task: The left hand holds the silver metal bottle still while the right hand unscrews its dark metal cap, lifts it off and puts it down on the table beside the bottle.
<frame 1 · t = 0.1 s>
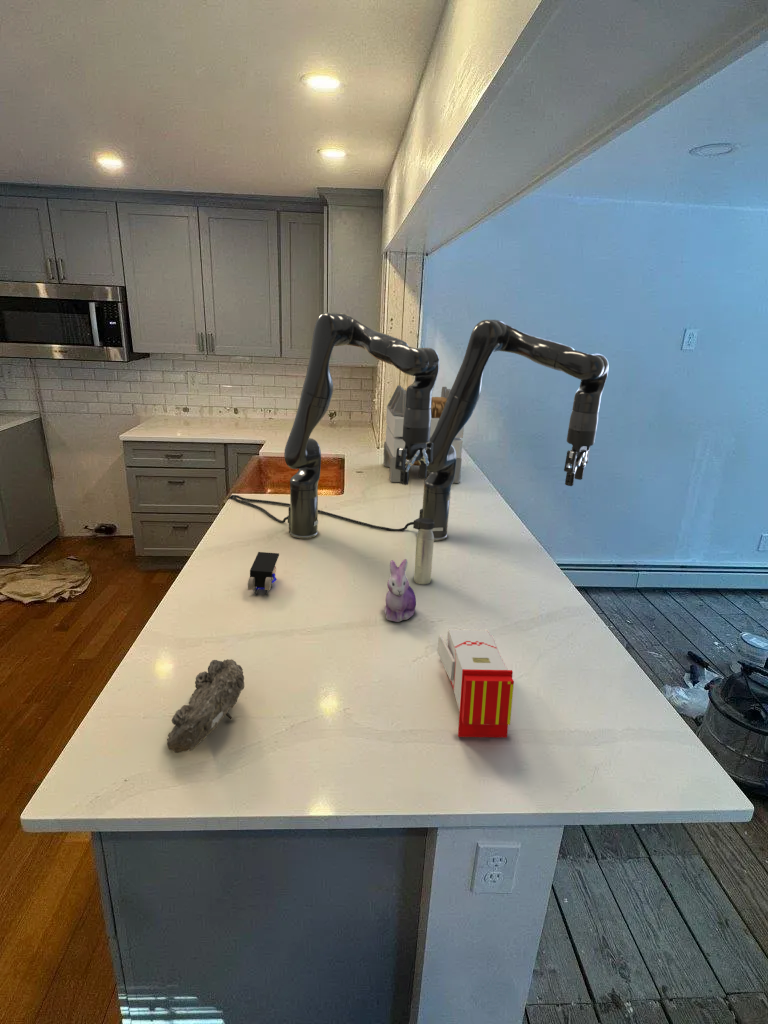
left hand: (413, 481, 160), 29 cm above the counter, tool pointing down, fingers open, 8 cm apart
right hand: (573, 482, 165), 29 cm above the counter, tool pointing down, fingers open, 8 cm apart
toy: (469, 691, 119), on the counter
figurine: (399, 614, 147), on the counter
grey wooden crate: (419, 473, 275), on the counter
cap: (426, 521, 160), point 19 cm above the counter, screwed on, not yet turned
bottle: (422, 580, 166), on the counter
fossil: (212, 717, 108), on the counter
black boxy wheeled piece: (264, 586, 159), on the counter
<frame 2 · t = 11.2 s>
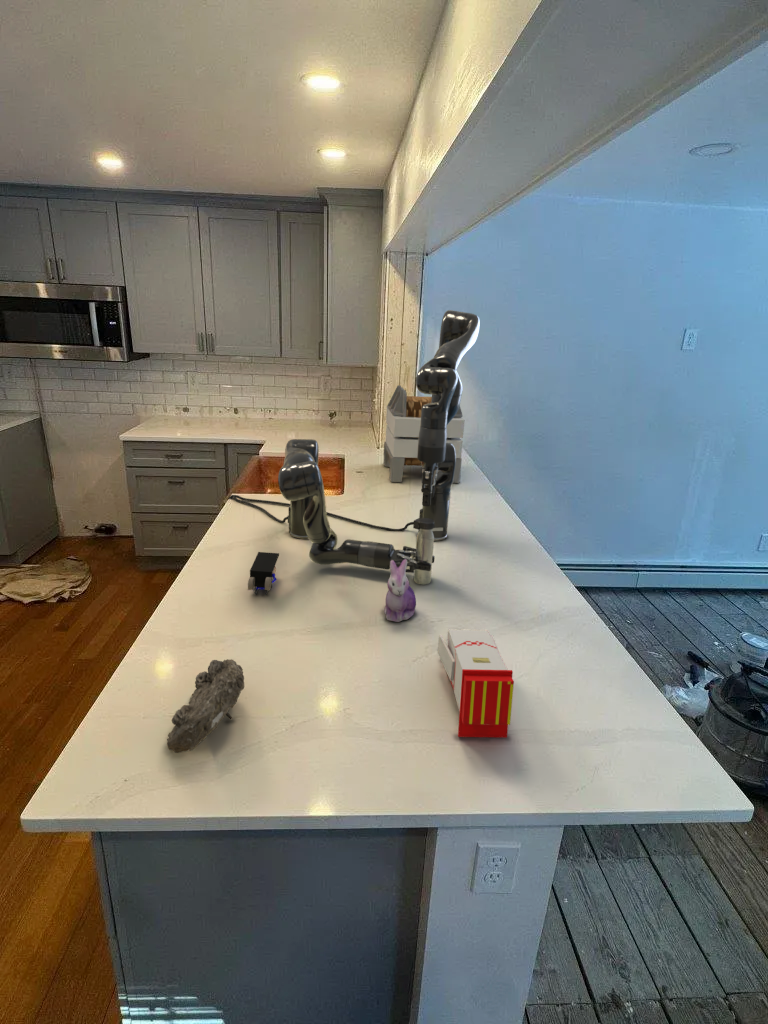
left hand: (432, 563, 164), 6 cm above the counter, tool horizontal, fingers closed on bottle, 5 cm apart
right hand: (427, 501, 158), 25 cm above the counter, tool pointing down, fingers open, 7 cm apart
bottle: (422, 580, 166), on the counter, touching left hand
everything else where it was.
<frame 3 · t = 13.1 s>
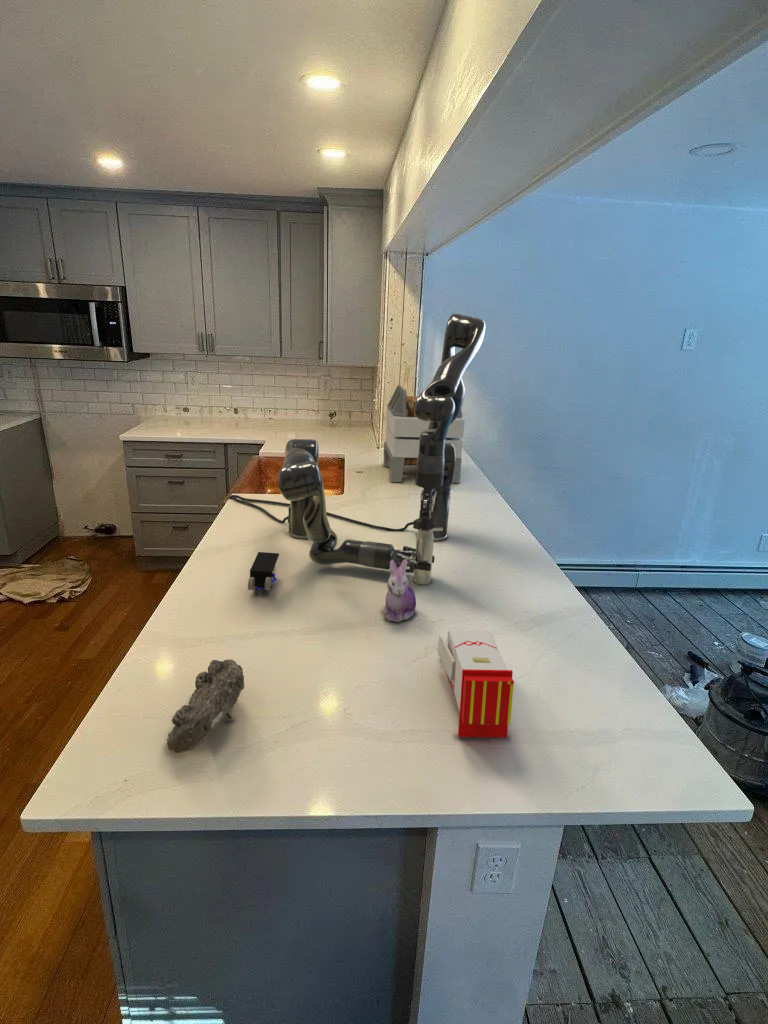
left hand: (432, 563, 164), 6 cm above the counter, tool horizontal, fingers closed on bottle, 5 cm apart
right hand: (426, 526, 161), 17 cm above the counter, tool pointing down, fingers closed on cap, 4 cm apart
cap: (426, 521, 160), point 19 cm above the counter, screwed on, not yet turned, touching right hand
bottle: (422, 580, 166), on the counter, touching left hand
everything else where it was.
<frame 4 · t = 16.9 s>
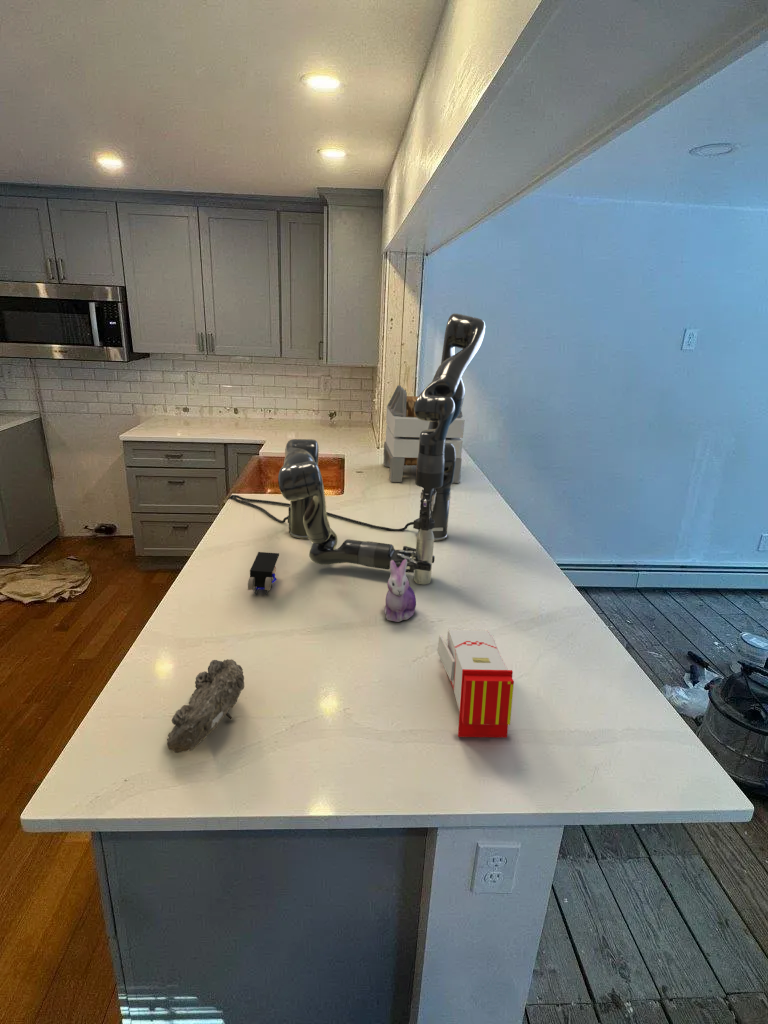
left hand: (432, 563, 164), 6 cm above the counter, tool horizontal, fingers closed on bottle, 5 cm apart
right hand: (426, 526, 160), 17 cm above the counter, tool pointing down, fingers closed on cap, 4 cm apart
cap: (426, 521, 160), point 19 cm above the counter, turned 99° so far, risen 0.1 cm, still on its thread, touching right hand
bottle: (422, 580, 166), on the counter, touching left hand
everything else where it was.
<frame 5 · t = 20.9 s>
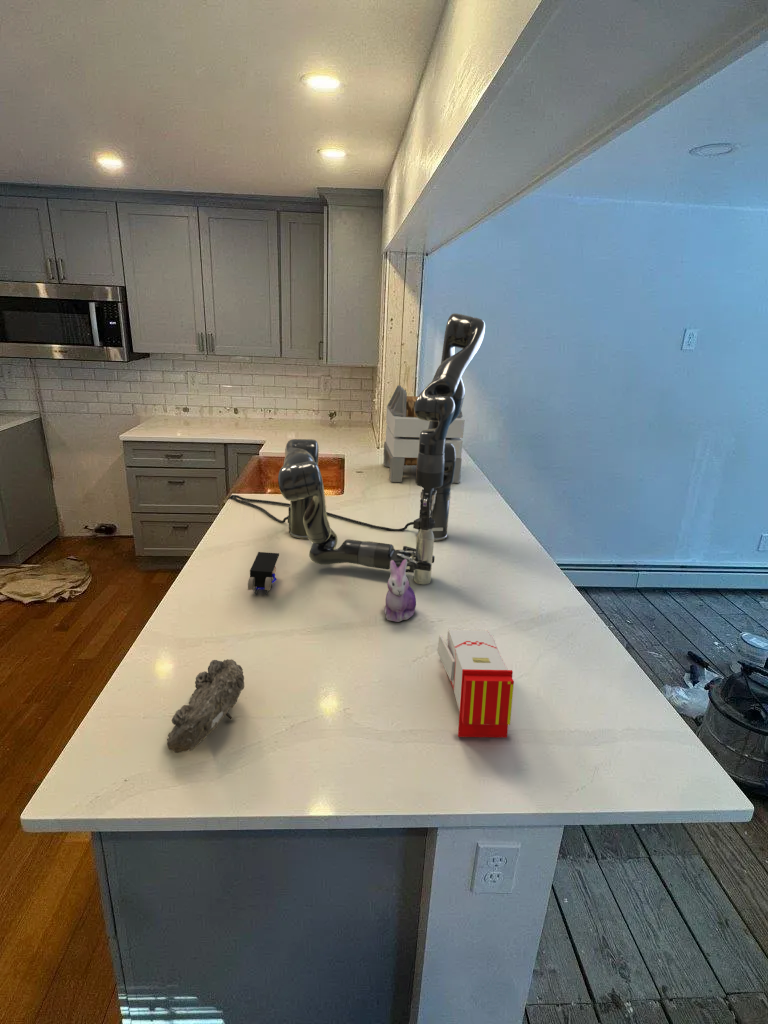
left hand: (432, 563, 164), 6 cm above the counter, tool horizontal, fingers closed on bottle, 5 cm apart
right hand: (426, 526, 160), 17 cm above the counter, tool pointing down, fingers closed on cap, 4 cm apart
cap: (426, 521, 160), point 19 cm above the counter, turned 198° so far, risen 0.2 cm, still on its thread, touching right hand
bottle: (422, 580, 166), on the counter, touching left hand
everything else where it was.
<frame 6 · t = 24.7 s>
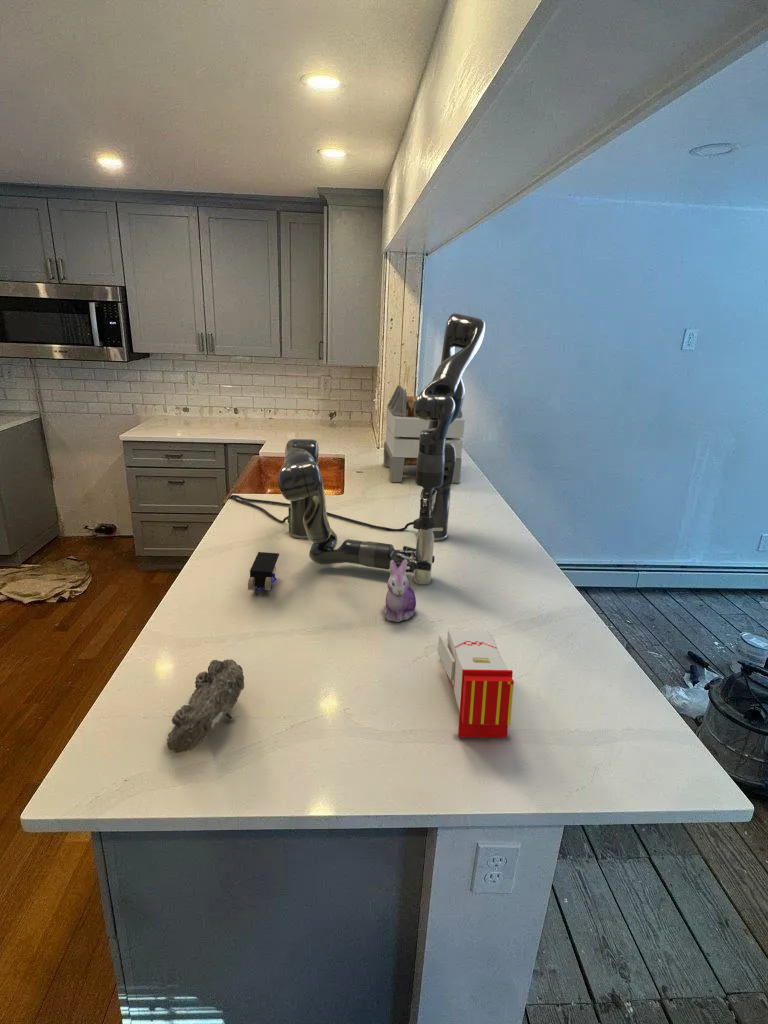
left hand: (432, 563, 164), 6 cm above the counter, tool horizontal, fingers closed on bottle, 5 cm apart
right hand: (426, 526, 160), 17 cm above the counter, tool pointing down, fingers closed on cap, 4 cm apart
cap: (426, 520, 160), point 19 cm above the counter, turned 298° so far, risen 0.3 cm, still on its thread, touching right hand
bottle: (422, 580, 166), on the counter, touching left hand
everything else where it was.
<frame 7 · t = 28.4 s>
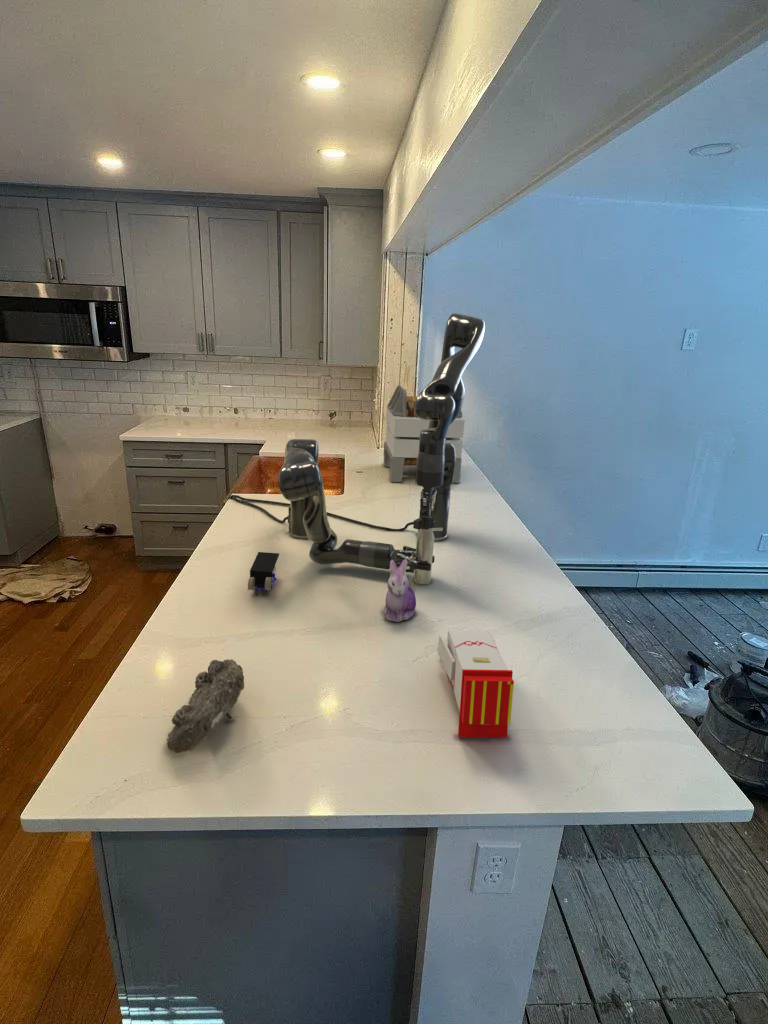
left hand: (432, 563, 164), 6 cm above the counter, tool horizontal, fingers closed on bottle, 5 cm apart
right hand: (426, 525, 160), 17 cm above the counter, tool pointing down, fingers closed on cap, 4 cm apart
cap: (426, 520, 160), point 19 cm above the counter, turned 397° so far, risen 0.4 cm, still on its thread, touching right hand
bottle: (422, 580, 166), on the counter, touching left hand
everything else where it was.
when the right hand's fingers open (1 cm above the counter, at t = 35.1 s): cap drops 1 cm, point 2 cm above the counter.
when the left hand's fingers open (6 cm above the counter, at t = 36.2 s): bottle stays where it is, on the counter.
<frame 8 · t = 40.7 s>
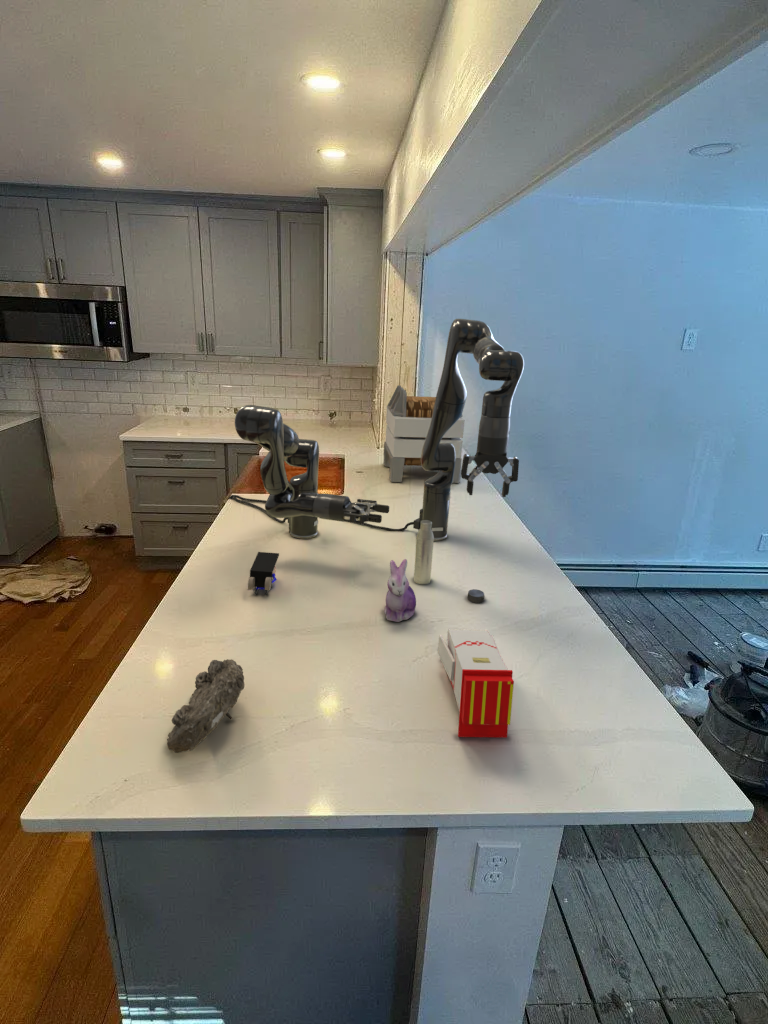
left hand: (385, 514, 162), 19 cm above the counter, tool horizontal, fingers open, 8 cm apart
right hand: (486, 495, 147), 30 cm above the counter, tool pointing down, fingers open, 8 cm apart
cap: (476, 594, 156), point 2 cm above the counter, off its thread
bottle: (421, 580, 166), on the counter
everything else where it was.
at the end: cap came off its thread; cap point 1.6 cm above the counter; the left hand is holding nothing; the right hand is holding nothing; bottle tilted 0°; bottle moved 0.1 cm from its start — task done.
